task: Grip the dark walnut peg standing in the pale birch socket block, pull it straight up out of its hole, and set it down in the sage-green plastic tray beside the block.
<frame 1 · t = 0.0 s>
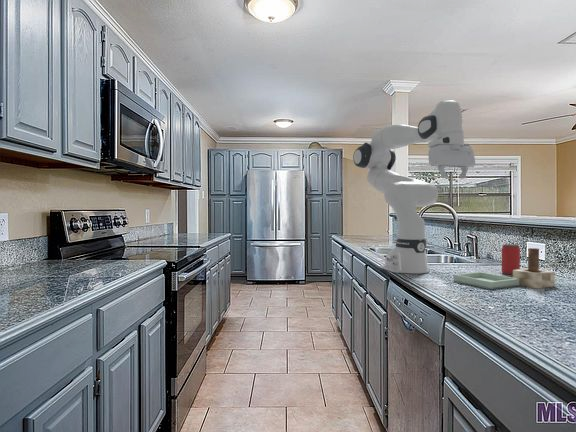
hand: (453, 178, 143), 39 cm above the counter, tool pointing down, fingers open, 8 cm apart
beer can: (510, 274, 158), on the counter
walnut peg: (533, 266, 135), in the socket block
socket block: (533, 284, 135), on the counter
tray: (485, 283, 138), on the counter
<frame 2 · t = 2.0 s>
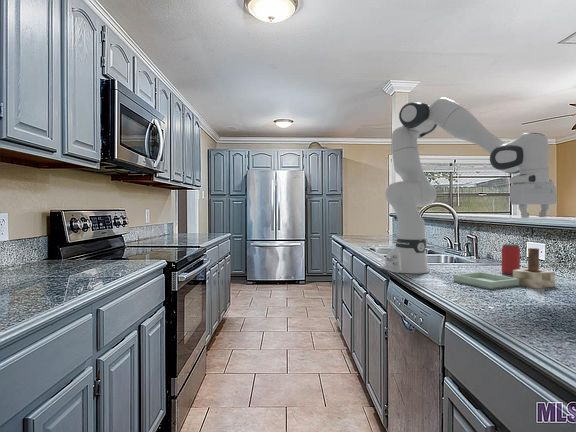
hand: (534, 217, 134), 24 cm above the counter, tool pointing down, fingers open, 8 cm apart
nothing on the counter moved.
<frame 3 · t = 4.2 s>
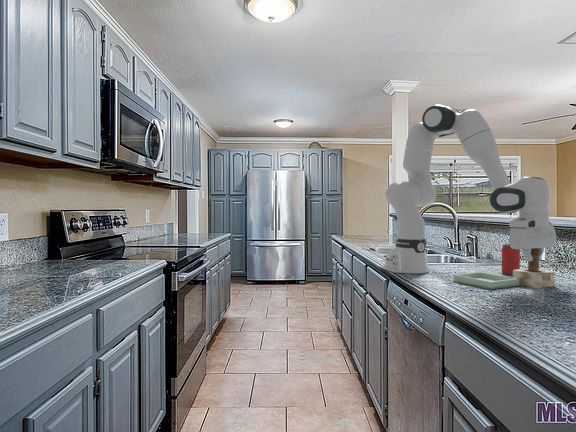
hand: (533, 260, 135), 9 cm above the counter, tool pointing down, fingers closed on walnut peg, 3 cm apart
walnut peg: (533, 266, 135), in the socket block, touching gripper
everything else where it was.
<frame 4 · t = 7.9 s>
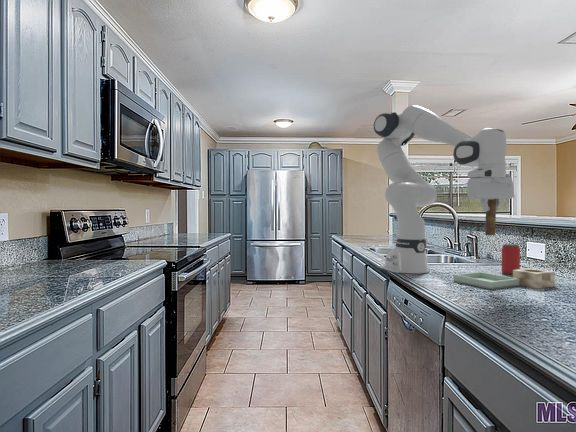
hand: (490, 211, 137), 26 cm above the counter, tool pointing down, fingers closed on walnut peg, 3 cm apart
walnut peg: (490, 217, 138), point 24 cm above the counter, touching gripper
everything else where it was.
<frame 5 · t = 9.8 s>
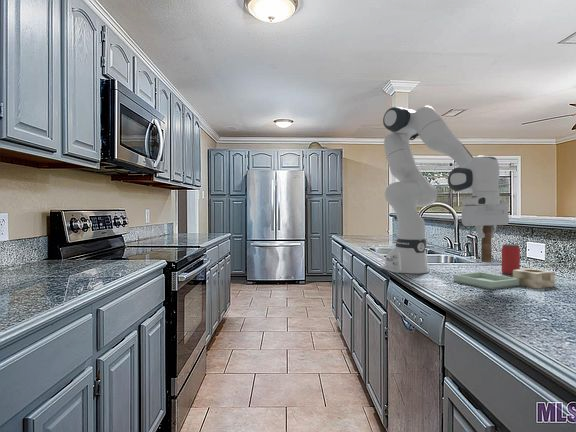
hand: (486, 238, 138), 17 cm above the counter, tool pointing down, fingers closed on walnut peg, 3 cm apart
walnut peg: (486, 243, 138), point 14 cm above the counter, touching gripper
everything else where it was.
when the fingers open (11 cm above the counter, at t = 11.4 s): walnut peg drops 1 cm, resting on tray.
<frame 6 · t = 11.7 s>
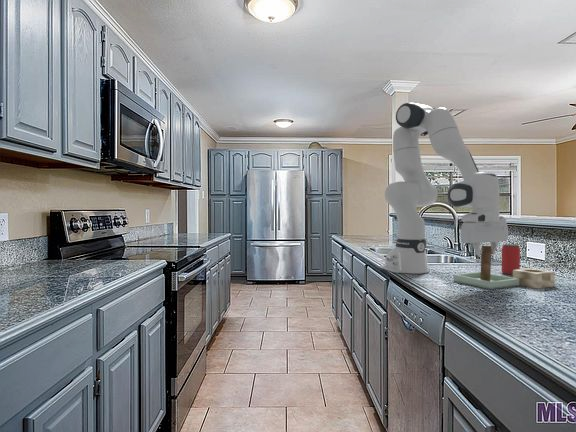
hand: (485, 254, 138), 11 cm above the counter, tool pointing down, fingers open, 5 cm apart
walnut peg: (485, 263, 138), in the tray, point 7 cm above the counter
everything else where it was.
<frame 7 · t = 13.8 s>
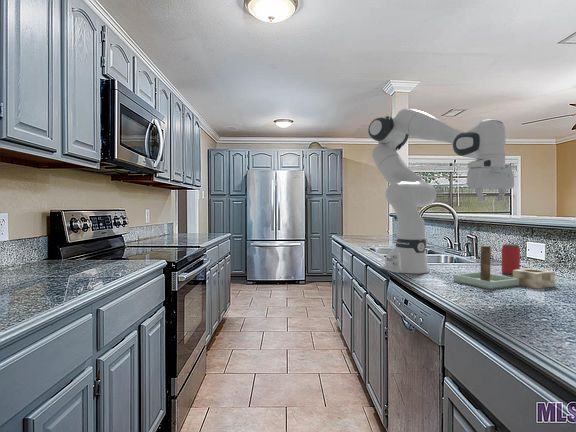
hand: (490, 201, 141), 30 cm above the counter, tool pointing down, fingers open, 8 cm apart
nothing on the counter moved.
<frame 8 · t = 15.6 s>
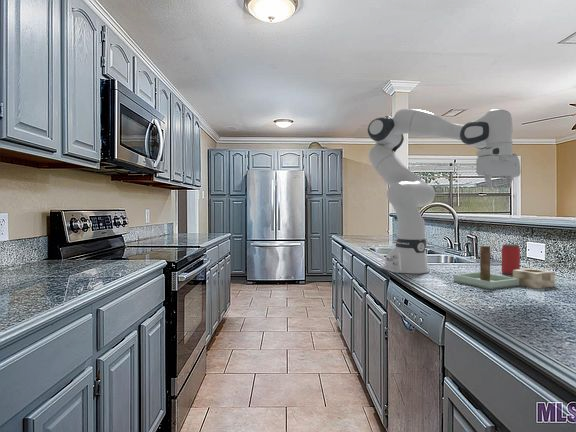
hand: (498, 188, 146), 35 cm above the counter, tool pointing down, fingers open, 8 cm apart
nothing on the counter moved.
at the end: walnut peg inside the target area on the tray (0.0 cm from its centre), point 7.1 cm above the tray's base; walnut peg touching tray; the gripper is holding nothing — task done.
